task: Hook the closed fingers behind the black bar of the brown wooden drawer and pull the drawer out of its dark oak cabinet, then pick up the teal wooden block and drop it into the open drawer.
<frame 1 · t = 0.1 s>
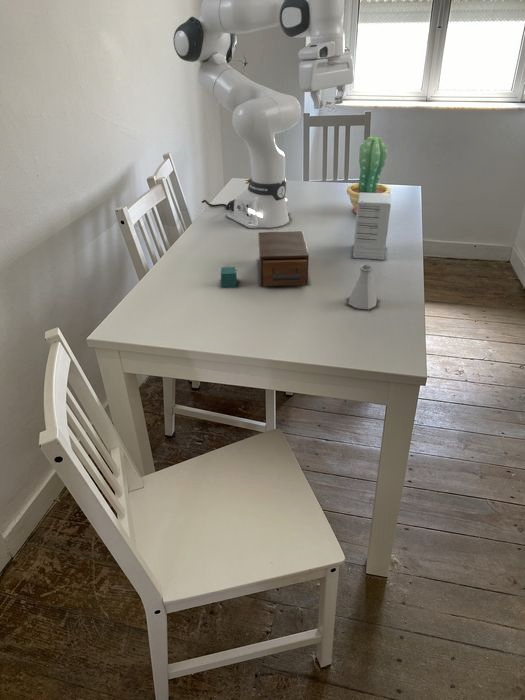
hand: (328, 106, 147), 39 cm above the table, tool pointing down, fingers open, 8 cm apart
potted cactus: (366, 211, 189), on the table
flask: (362, 303, 134), on the table
supplement box: (368, 253, 159), on the table
cabinet: (282, 271, 149), on the table
block: (229, 283, 143), on the table
drawer: (283, 265, 142), point 4 cm above the table, slide at 0.5 cm
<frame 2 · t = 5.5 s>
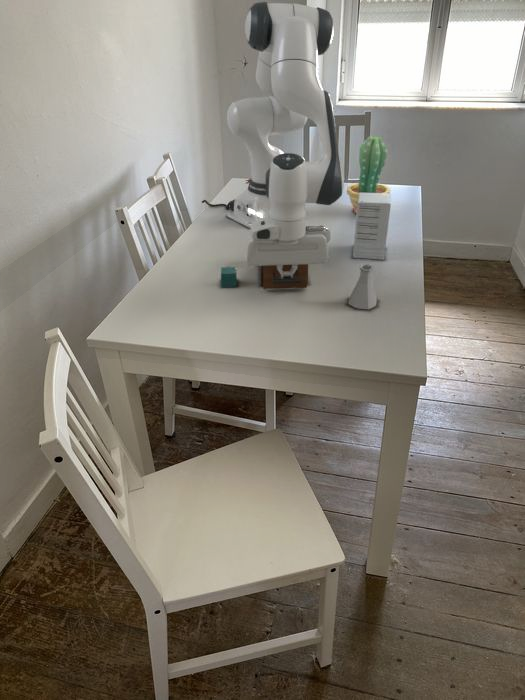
hand: (286, 279, 134), 5 cm above the table, tool pointing down, fingers closed, pressing on drawer
drawer: (284, 268, 141), point 4 cm above the table, slide at 2.3 cm, touching gripper
everything else where it was.
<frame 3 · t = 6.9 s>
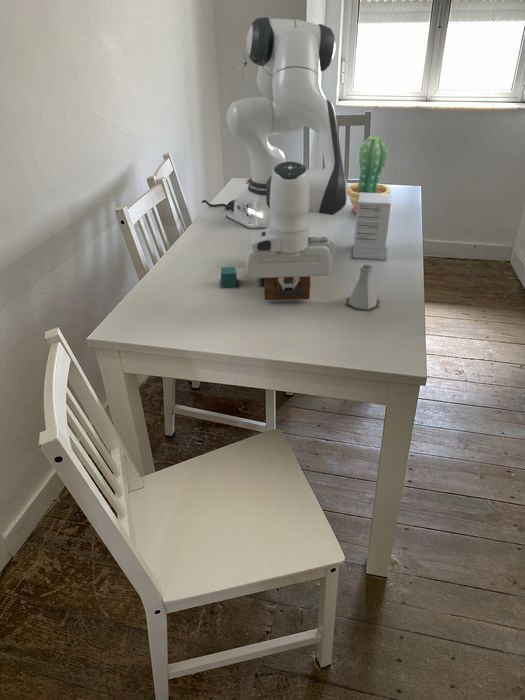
hand: (288, 291, 129), 5 cm above the table, tool pointing down, fingers closed
drawer: (285, 279, 136), point 4 cm above the table, slide at 8.5 cm
everything else where it was.
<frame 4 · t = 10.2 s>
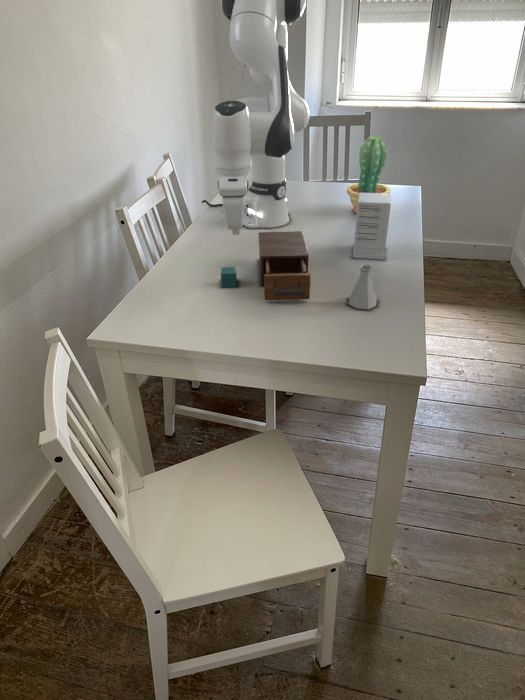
hand: (236, 232, 133), 15 cm above the table, tool pointing down, fingers closed
nothing on the table moved.
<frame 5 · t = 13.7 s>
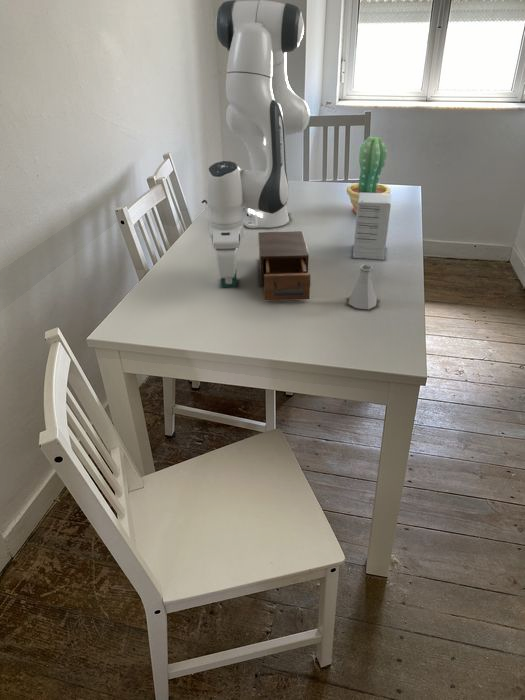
hand: (229, 278, 143), 2 cm above the table, tool pointing down, fingers closed on block, 4 cm apart
block: (229, 283, 144), on the table, touching gripper
everything else where it was.
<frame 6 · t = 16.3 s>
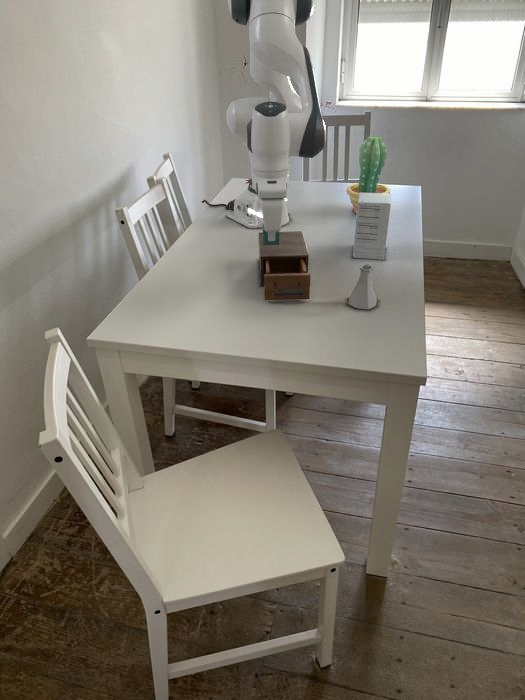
hand: (271, 236, 131), 15 cm above the table, tool pointing down, fingers closed on block, 4 cm apart
block: (271, 242, 132), point 14 cm above the table, touching gripper
everything else where it was.
when the fingers open (7 cm above the table, at t = 19.2 s): block drops 3 cm, resting on drawer.
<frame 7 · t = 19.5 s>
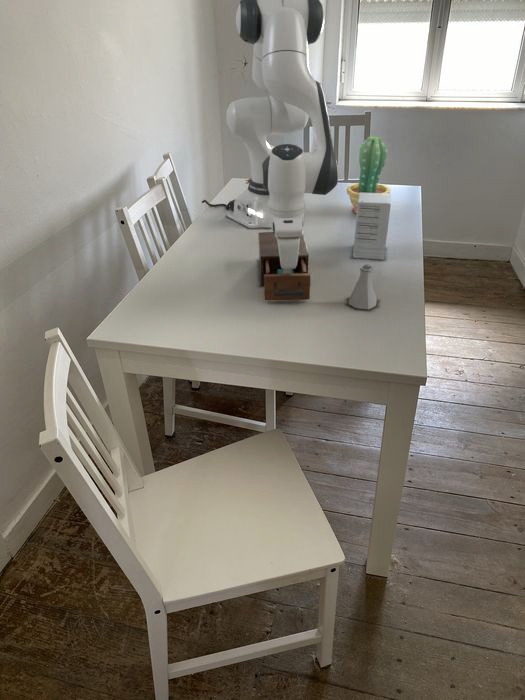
hand: (285, 269, 135), 7 cm above the table, tool pointing down, fingers open, 6 cm apart
block: (285, 286, 137), point 2 cm above the table, touching drawer
drawer: (285, 279, 136), point 4 cm above the table, slide at 8.6 cm, touching block, gripper
everything else where it was.
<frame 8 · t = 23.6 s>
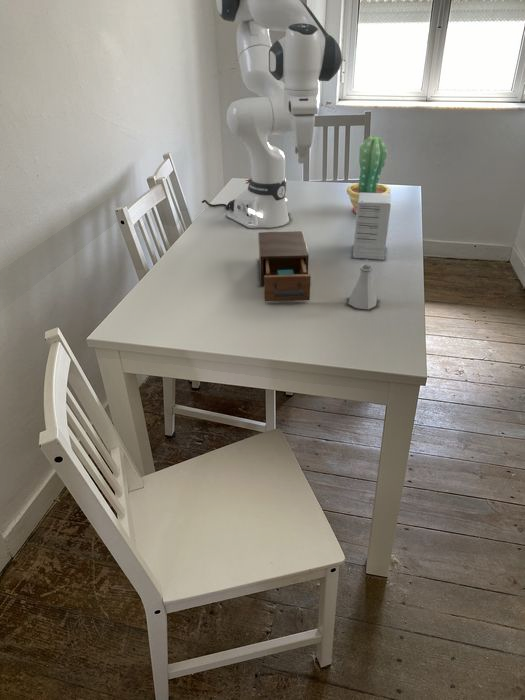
hand: (299, 158, 139), 29 cm above the table, tool pointing down, fingers open, 8 cm apart
drawer: (285, 280, 135), point 4 cm above the table, slide at 9.1 cm, touching block
everything else where it was.
at the end: drawer slide at 9.1 cm; block inside the target area (0.4 cm from its centre), point 2.0 cm above the table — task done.
